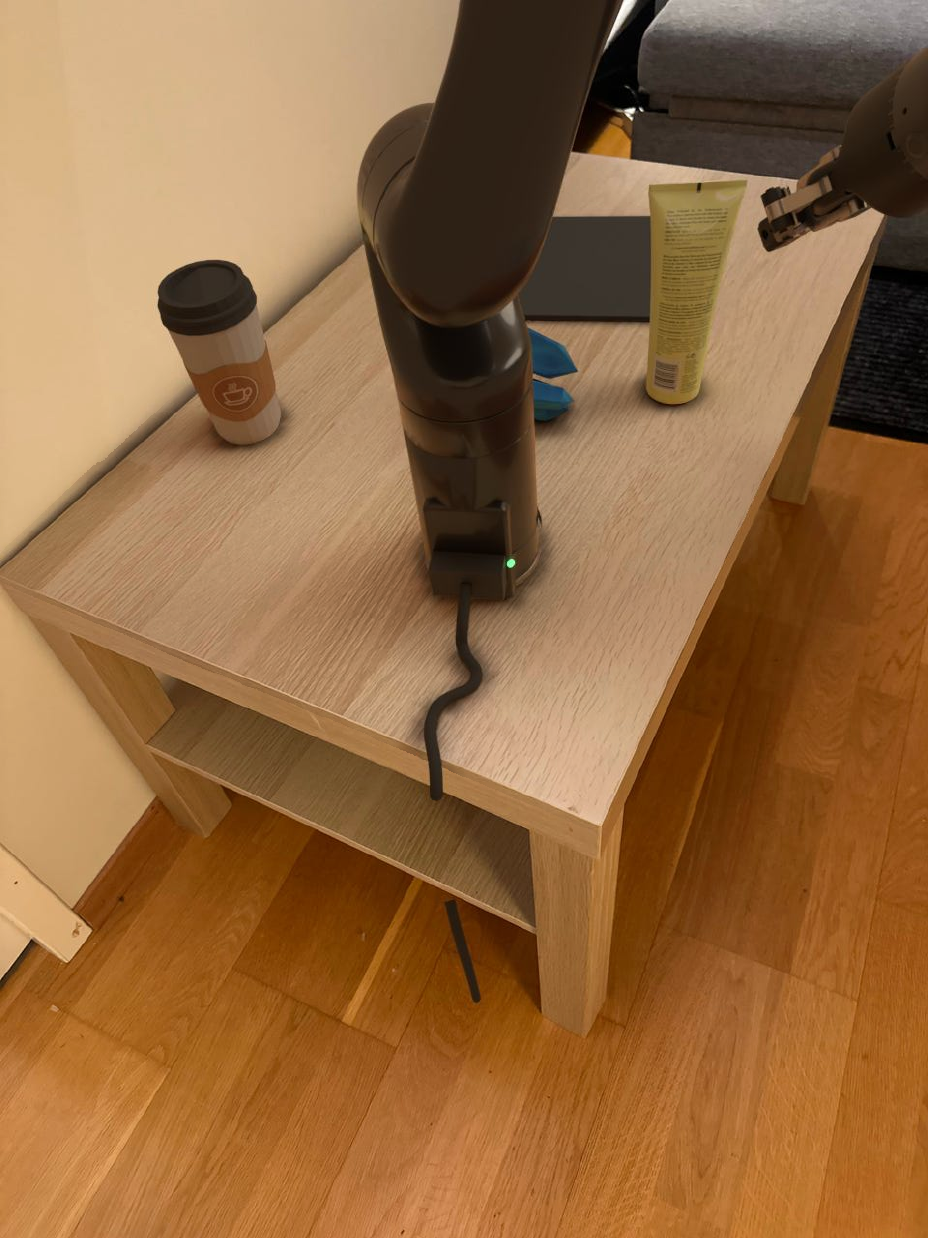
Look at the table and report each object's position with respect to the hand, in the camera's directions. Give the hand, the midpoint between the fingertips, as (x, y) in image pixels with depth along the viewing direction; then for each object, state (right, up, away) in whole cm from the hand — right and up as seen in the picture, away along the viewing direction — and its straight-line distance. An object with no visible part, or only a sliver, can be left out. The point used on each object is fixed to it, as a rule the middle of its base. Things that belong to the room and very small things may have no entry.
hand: (769, 235), depth 64 cm
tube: (-2, -6, +20) cm, 21 cm away
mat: (-12, +11, +35) cm, 38 cm away
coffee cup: (-43, -9, +23) cm, 49 cm away
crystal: (-16, -7, +21) cm, 27 cm away
